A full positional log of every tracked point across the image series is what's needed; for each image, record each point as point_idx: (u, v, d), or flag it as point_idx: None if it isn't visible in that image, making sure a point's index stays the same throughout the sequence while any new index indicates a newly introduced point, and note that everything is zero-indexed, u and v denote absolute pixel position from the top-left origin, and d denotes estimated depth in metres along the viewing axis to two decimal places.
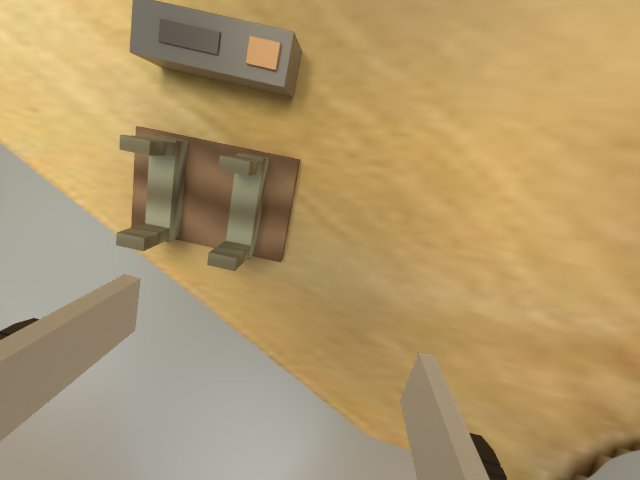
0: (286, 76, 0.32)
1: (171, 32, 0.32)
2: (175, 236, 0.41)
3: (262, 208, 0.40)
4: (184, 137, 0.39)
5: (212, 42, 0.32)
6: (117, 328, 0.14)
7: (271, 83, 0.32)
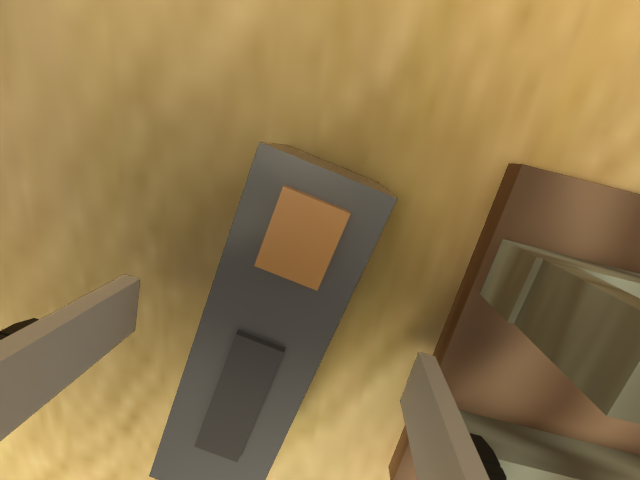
0: (367, 186, 0.11)
1: (224, 433, 0.14)
2: None
3: (627, 268, 0.16)
4: None
5: (256, 355, 0.13)
6: (117, 328, 0.14)
7: (378, 232, 0.11)
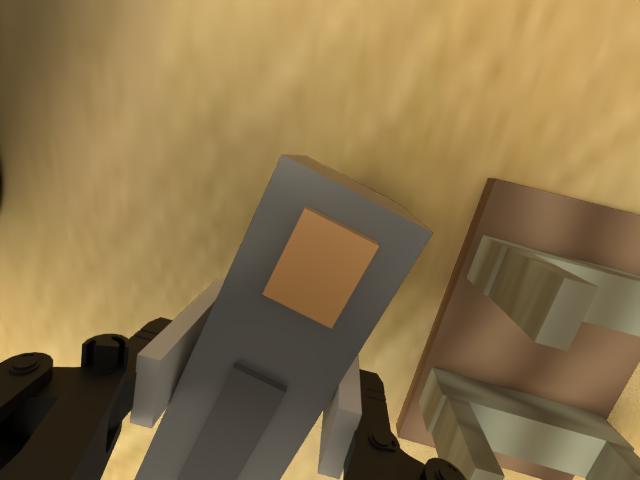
0: (399, 215, 0.10)
1: (208, 475, 0.12)
2: (609, 426, 0.22)
3: (580, 258, 0.20)
4: (425, 371, 0.23)
5: (253, 393, 0.11)
6: None
7: (407, 268, 0.10)
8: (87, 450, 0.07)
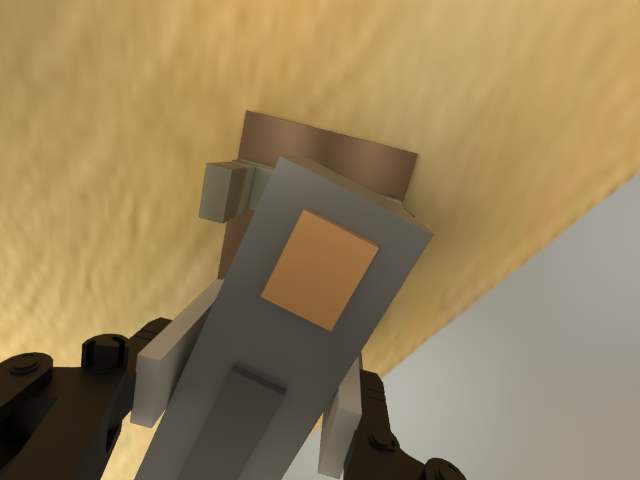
0: (399, 216, 0.10)
1: (207, 478, 0.12)
2: None
3: None
4: None
5: (252, 396, 0.11)
6: None
7: (407, 270, 0.10)
8: (87, 450, 0.07)
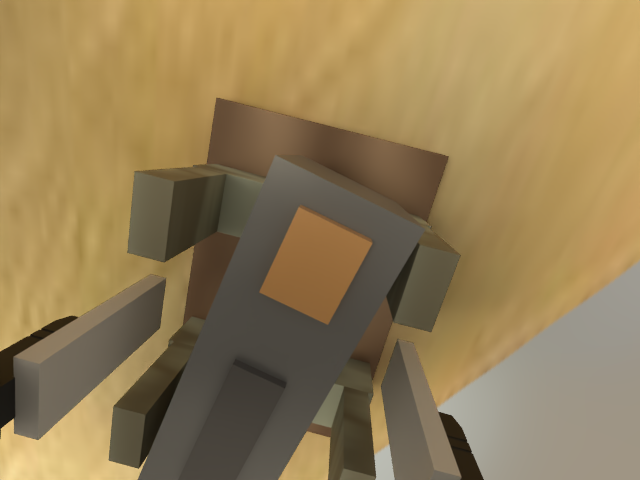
0: (392, 212, 0.10)
1: (211, 470, 0.12)
2: (367, 373, 0.20)
3: None
4: (185, 321, 0.21)
5: (253, 389, 0.11)
6: (145, 325, 0.14)
7: (401, 264, 0.10)
8: None
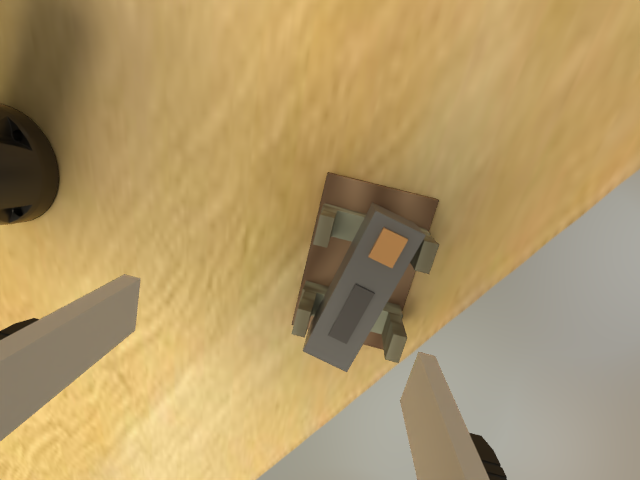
0: (414, 229, 0.29)
1: (342, 329, 0.32)
2: (399, 308, 0.39)
3: None
4: (302, 283, 0.41)
5: (362, 294, 0.31)
6: (117, 328, 0.14)
7: (417, 247, 0.29)
8: None
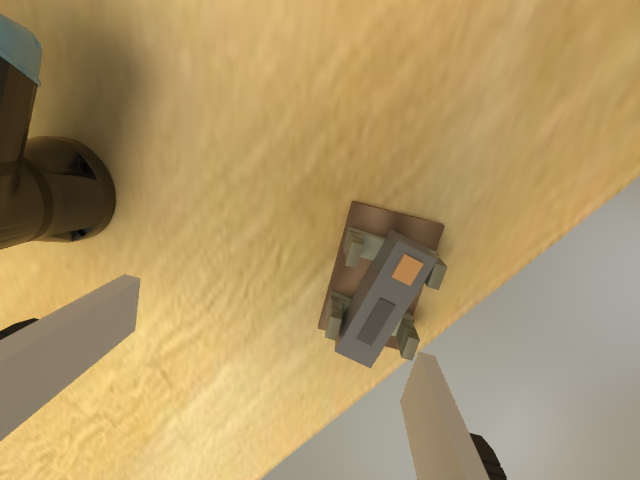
0: (428, 255, 0.37)
1: (368, 334, 0.39)
2: (410, 314, 0.47)
3: None
4: (328, 293, 0.48)
5: (385, 306, 0.38)
6: (117, 328, 0.14)
7: (430, 269, 0.37)
8: None
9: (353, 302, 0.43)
